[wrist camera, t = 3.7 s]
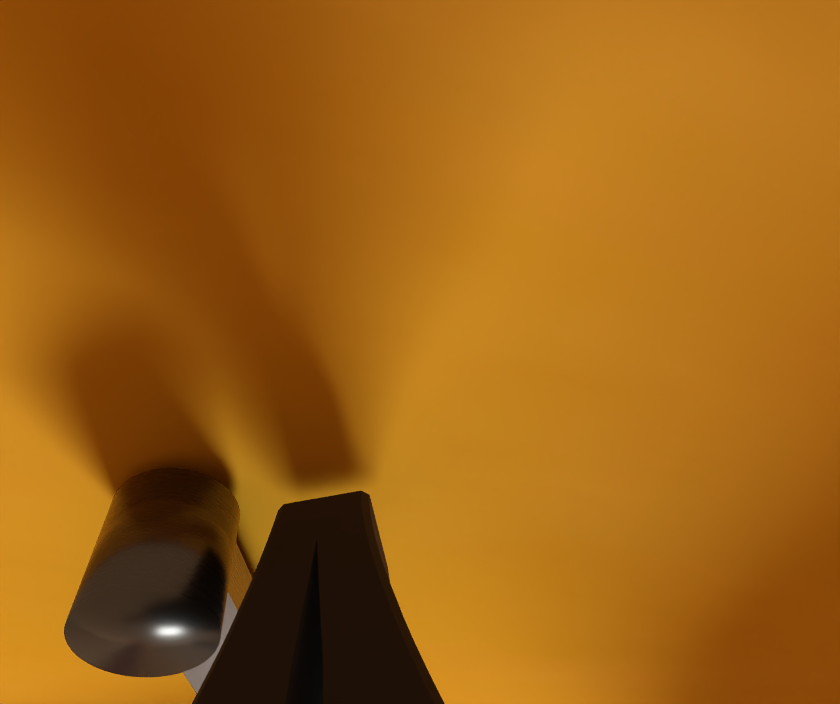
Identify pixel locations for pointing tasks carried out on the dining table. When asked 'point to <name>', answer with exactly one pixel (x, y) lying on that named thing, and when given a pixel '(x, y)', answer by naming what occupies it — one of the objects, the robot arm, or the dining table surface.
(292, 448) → the dining table surface
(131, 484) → the lever
